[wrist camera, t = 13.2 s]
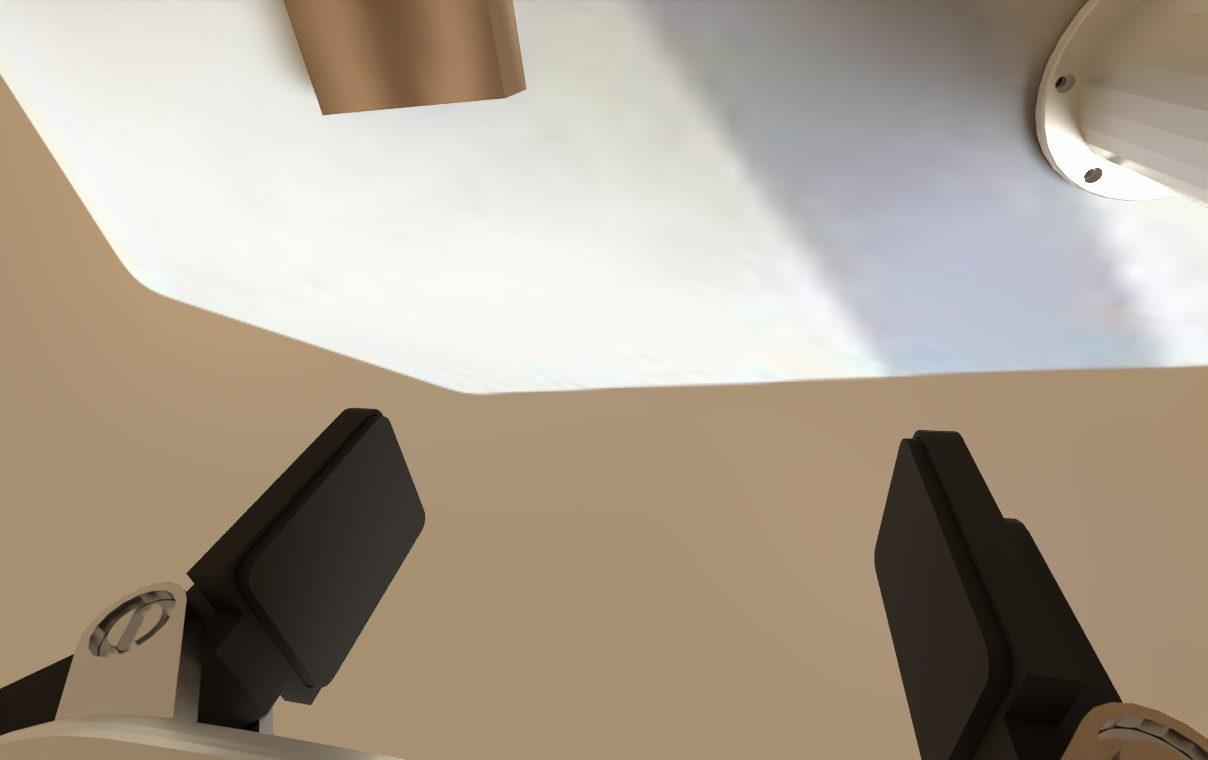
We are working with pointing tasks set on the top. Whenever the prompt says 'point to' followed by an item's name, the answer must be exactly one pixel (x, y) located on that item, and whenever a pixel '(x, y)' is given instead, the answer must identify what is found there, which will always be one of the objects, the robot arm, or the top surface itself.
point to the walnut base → (407, 52)
